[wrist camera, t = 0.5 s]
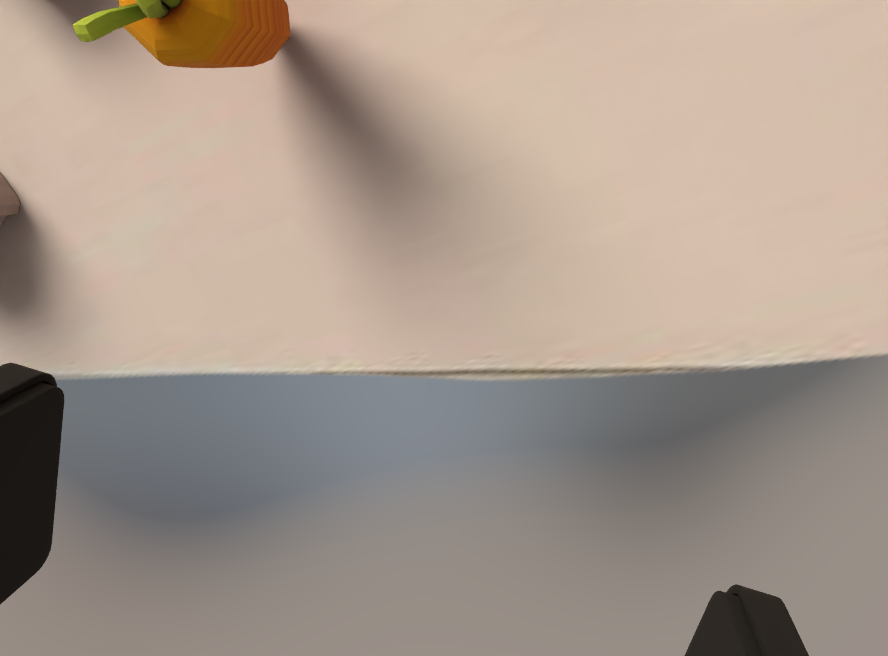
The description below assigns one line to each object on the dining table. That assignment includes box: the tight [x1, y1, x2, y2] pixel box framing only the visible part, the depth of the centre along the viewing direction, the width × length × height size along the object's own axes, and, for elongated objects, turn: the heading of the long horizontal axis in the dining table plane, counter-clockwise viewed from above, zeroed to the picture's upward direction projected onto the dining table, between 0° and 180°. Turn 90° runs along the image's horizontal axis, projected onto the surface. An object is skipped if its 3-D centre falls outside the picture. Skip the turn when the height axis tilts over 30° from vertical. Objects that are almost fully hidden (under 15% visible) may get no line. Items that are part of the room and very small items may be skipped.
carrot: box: [73, 0, 290, 68], centre depth 29 cm, size 5×5×15 cm
